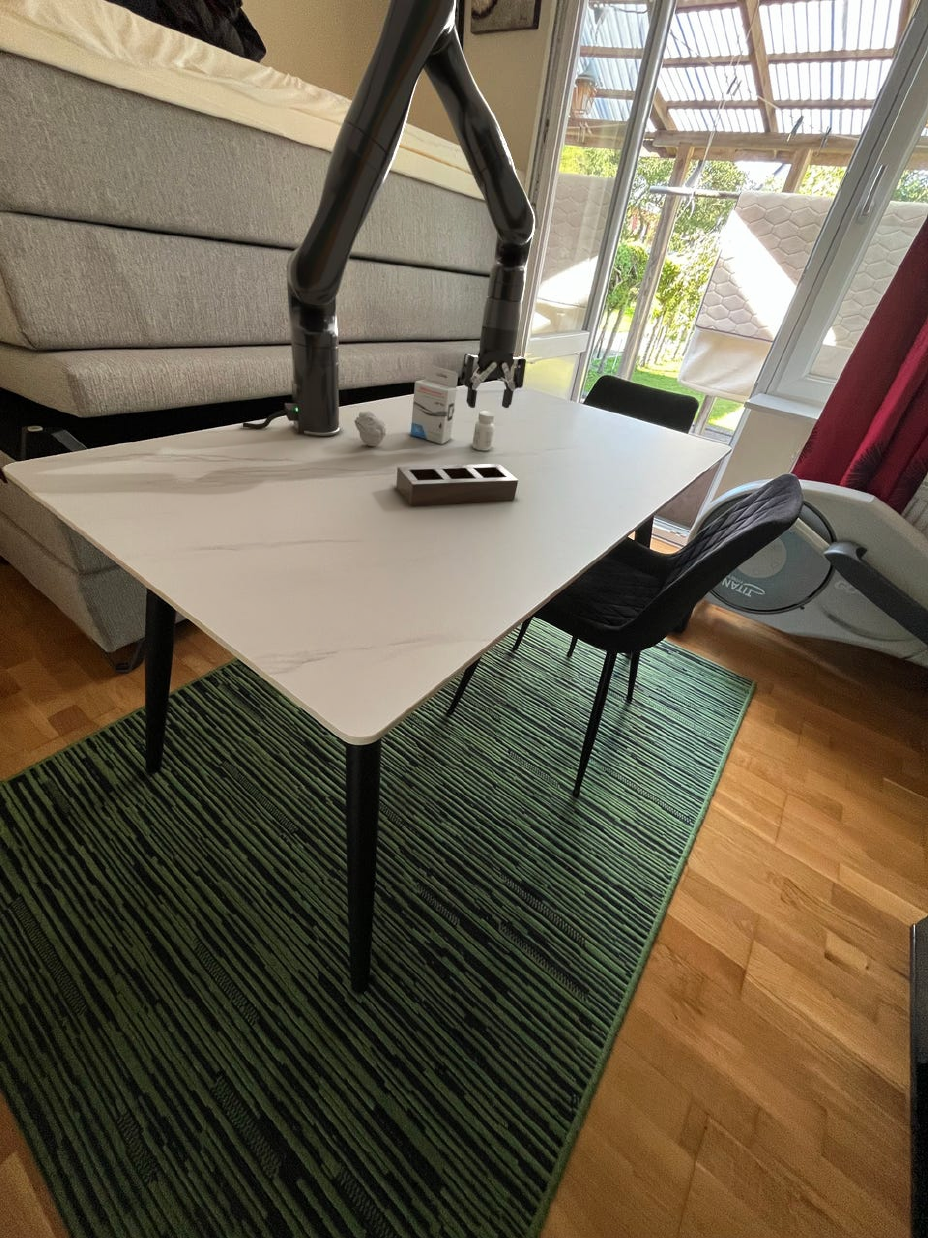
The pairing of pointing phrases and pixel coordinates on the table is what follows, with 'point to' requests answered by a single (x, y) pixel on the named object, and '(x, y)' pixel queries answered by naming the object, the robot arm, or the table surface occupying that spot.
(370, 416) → the white lumpy lump
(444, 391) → the ink box
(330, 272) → the robot arm
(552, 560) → the table surface
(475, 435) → the pill bottle
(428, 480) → the holder
